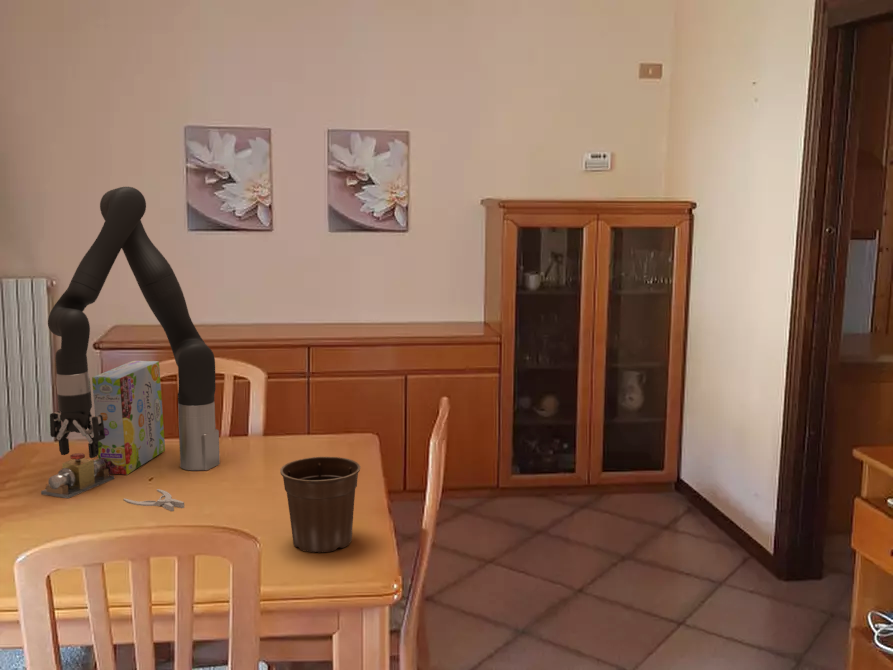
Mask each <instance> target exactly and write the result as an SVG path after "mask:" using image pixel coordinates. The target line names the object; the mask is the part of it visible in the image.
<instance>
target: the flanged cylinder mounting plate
mask: <svg viewBox="0 0 893 670" xmlns="http://www.w3.org/2000/svg"><path fill="white" fill-rule="evenodd" d="M92 460H93V461H94V480H95V481H94V482H92V483H90V484H87V485H85V486H82V487H73V485H74V484H75V481H76V478H75V474H74V472H73V471H72V470H71V469H69V468H61V469H60V470H59V471H58V472H57V474H54V475H52V476H49V478H48V484H46V486H45V489H43V490H41V491H40V494H41V495H43V496H49V497H50V496H51V497H56V498H63V499H70V498H72V497H75V496H77V495H79V494H82V493H84V492H87V491H89V490H92V489H94V488H95V487H98V486H101V485H102V484H105V483H108V482H110V481H112V480H115V475H114V474H109V469H106V463H105V461H104V460H103V459H102V458H98V457H97V458H96V459H92Z"/></svg>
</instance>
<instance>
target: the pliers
mask: <svg viewBox="0 0 893 670" xmlns="http://www.w3.org/2000/svg"><path fill="white" fill-rule="evenodd" d="M156 491H157V492H158V493H160V494H161V495H160V497H159V499H157V501H156V500H142V501H141V500H140V501H137V500H132V499H128V498H123V502H125V503H127V504H131V505H136V506H142V507H160V506H161V507H162V508H164V510H168V511H170V512H174V511H175V508H179V509H184V508H185V502H184V501H182V500H178V499H175V498H172V494H170V492H168V491H166V490H163V489H159V488H157V489H156ZM163 498H164V499H163Z"/></svg>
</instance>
